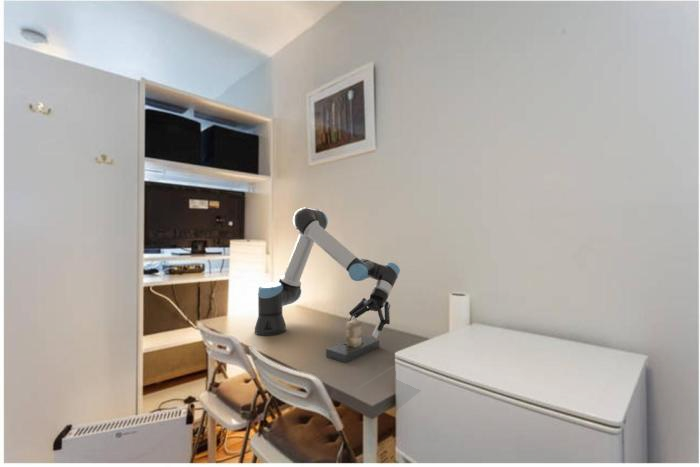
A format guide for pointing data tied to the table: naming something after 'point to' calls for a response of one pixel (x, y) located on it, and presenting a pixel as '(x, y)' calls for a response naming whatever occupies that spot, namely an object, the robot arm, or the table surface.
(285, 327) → the robot arm
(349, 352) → the grey block with hole
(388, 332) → the table surface
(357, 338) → the peg
